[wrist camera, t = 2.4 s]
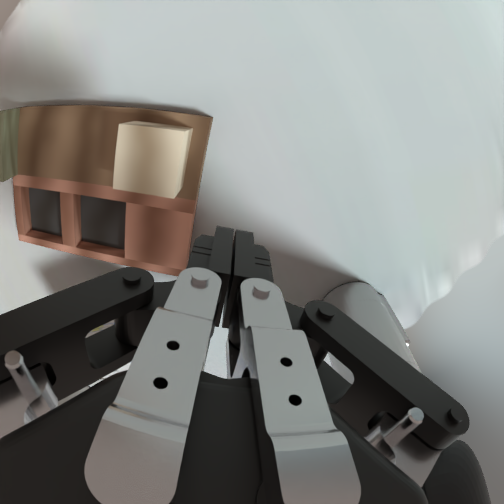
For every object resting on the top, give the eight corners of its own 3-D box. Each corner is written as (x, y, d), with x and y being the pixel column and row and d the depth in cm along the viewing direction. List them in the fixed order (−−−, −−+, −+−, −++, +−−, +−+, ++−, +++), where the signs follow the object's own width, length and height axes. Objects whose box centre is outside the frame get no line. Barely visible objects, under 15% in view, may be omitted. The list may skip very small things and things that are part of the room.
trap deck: (213, 117, 27) (206, 119, 22) (187, 268, 35) (179, 292, 30) (24, 106, 23) (-1, 111, 19) (26, 233, 32) (7, 250, 27)
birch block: (193, 128, 25) (184, 131, 22) (182, 186, 28) (173, 198, 24) (135, 120, 24) (119, 123, 21) (128, 177, 27) (112, 188, 24)
